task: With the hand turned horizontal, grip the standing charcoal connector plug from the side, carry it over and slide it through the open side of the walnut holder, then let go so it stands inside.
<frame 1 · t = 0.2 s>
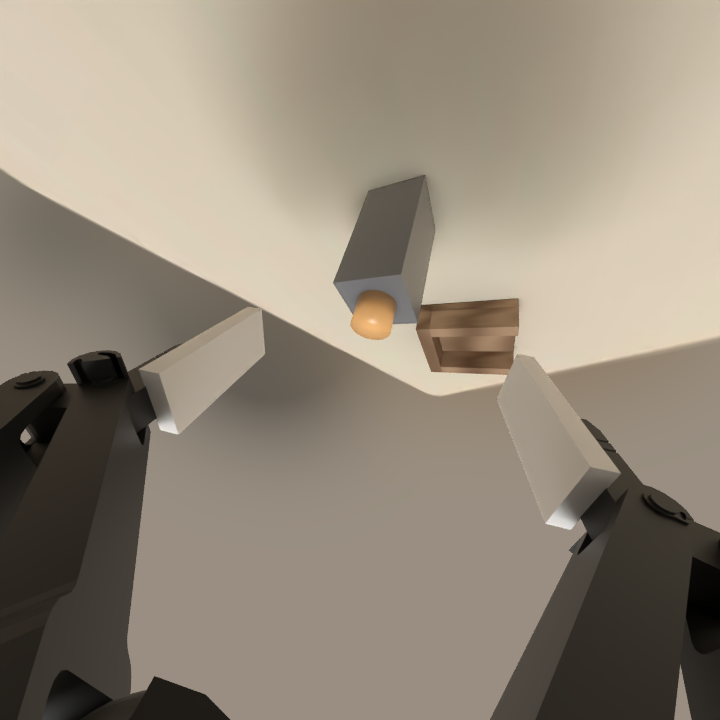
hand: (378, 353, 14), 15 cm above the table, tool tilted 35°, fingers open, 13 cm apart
holder: (468, 329, 34), on the table
connector plug: (403, 210, 23), on the table
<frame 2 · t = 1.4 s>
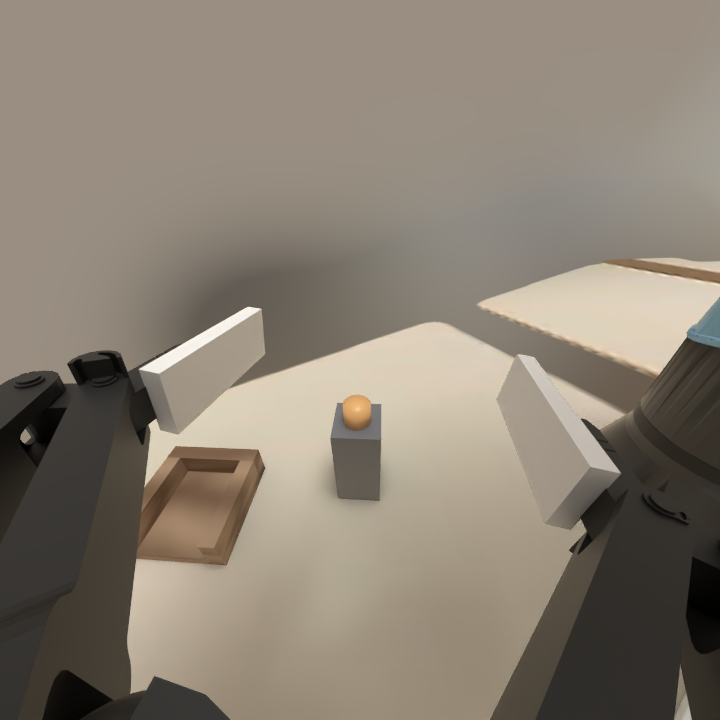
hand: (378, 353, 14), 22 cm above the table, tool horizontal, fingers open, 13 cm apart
holder: (203, 507, 30), on the table
connector plug: (360, 480, 32), on the table
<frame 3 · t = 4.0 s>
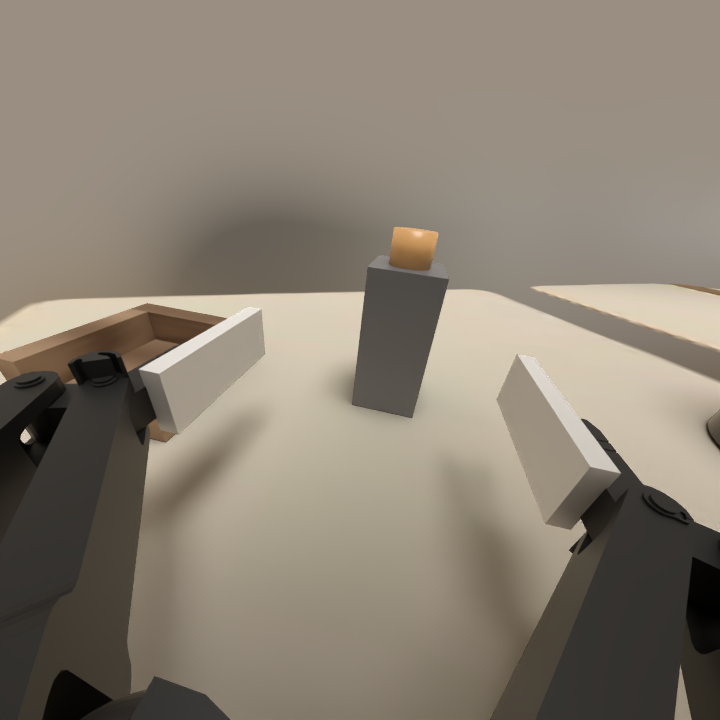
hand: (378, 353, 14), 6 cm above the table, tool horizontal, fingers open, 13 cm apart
holder: (160, 378, 21), on the table
connector plug: (385, 393, 22), on the table
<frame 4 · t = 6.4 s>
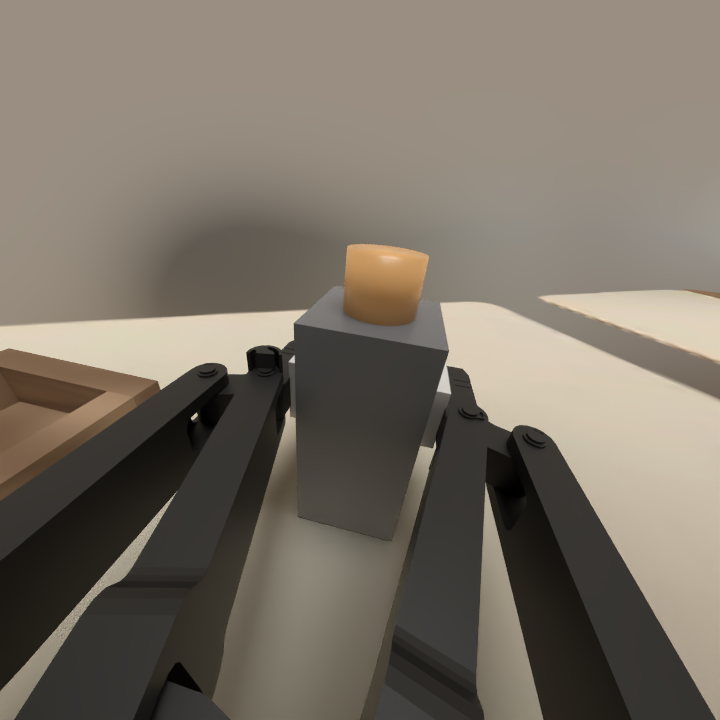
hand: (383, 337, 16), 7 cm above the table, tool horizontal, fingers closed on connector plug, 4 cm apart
connector plug: (353, 486, 15), on the table, touching gripper
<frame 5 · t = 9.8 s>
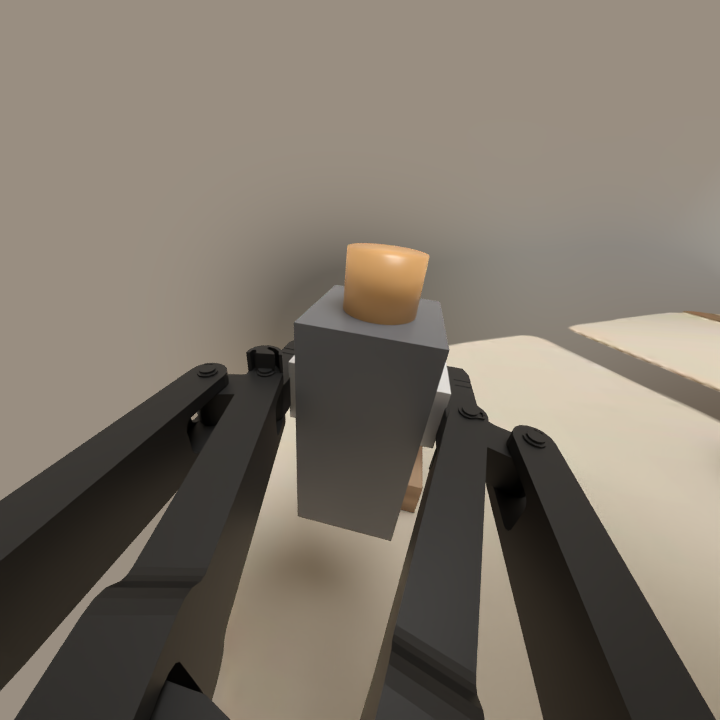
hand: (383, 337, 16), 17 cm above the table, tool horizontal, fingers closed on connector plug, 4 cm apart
holder: (368, 456, 29), on the table
connector plug: (353, 486, 15), point 10 cm above the table, touching gripper
when the fingers open (9 cm above the table, at t = 13.5 s): connector plug drops 1 cm, resting on holder.
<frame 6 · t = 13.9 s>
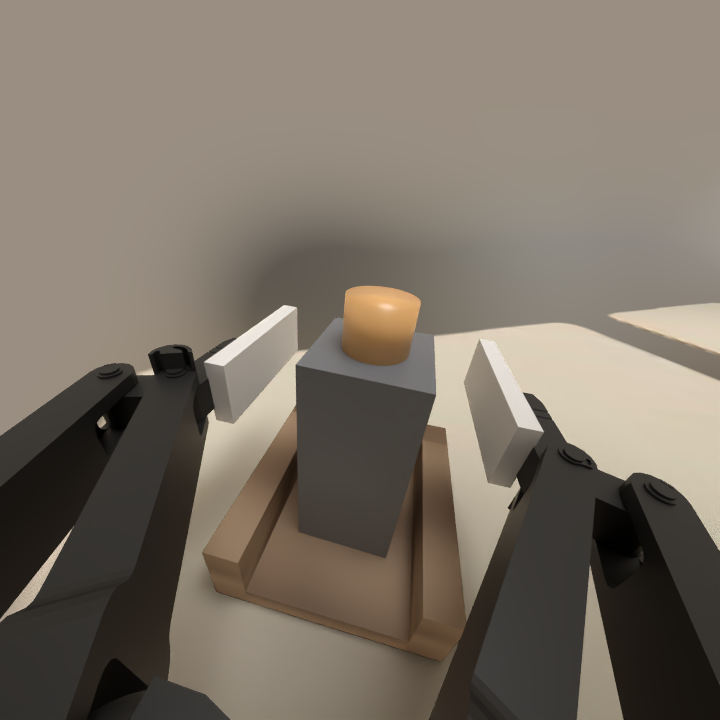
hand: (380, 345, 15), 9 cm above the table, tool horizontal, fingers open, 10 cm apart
holder: (349, 513, 16), on the table
connector plug: (352, 503, 15), point 1 cm above the table, touching holder
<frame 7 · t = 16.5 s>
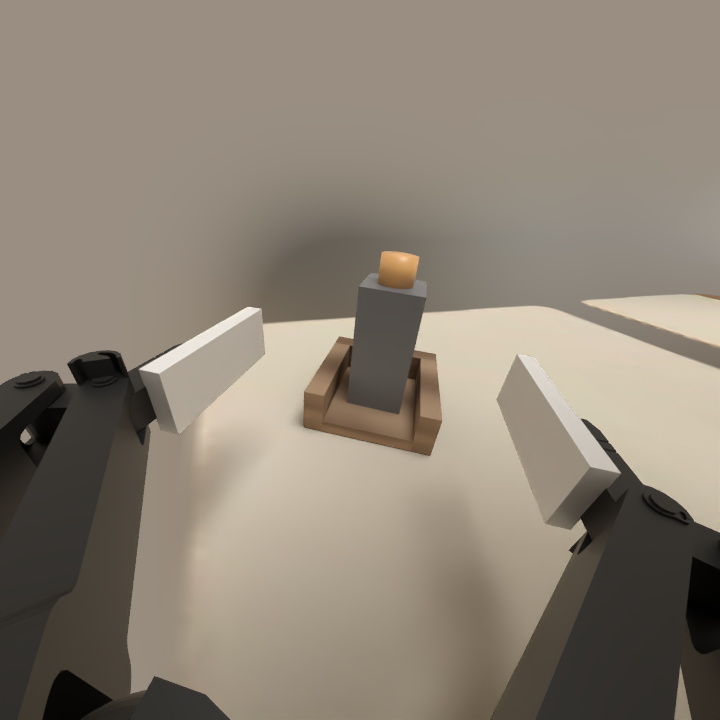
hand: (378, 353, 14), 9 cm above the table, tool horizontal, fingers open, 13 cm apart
holder: (374, 401, 25), on the table
connector plug: (376, 393, 25), point 1 cm above the table, touching holder
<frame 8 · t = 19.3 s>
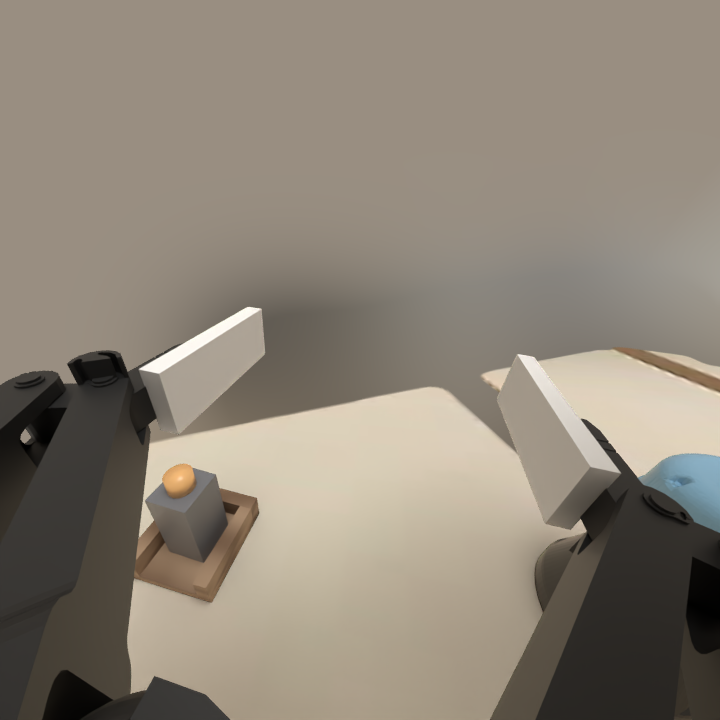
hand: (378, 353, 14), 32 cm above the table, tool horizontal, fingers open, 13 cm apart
holder: (201, 541, 34), on the table
connector plug: (200, 537, 34), point 1 cm above the table, touching holder
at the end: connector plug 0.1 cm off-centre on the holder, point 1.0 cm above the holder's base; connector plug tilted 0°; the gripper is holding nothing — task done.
